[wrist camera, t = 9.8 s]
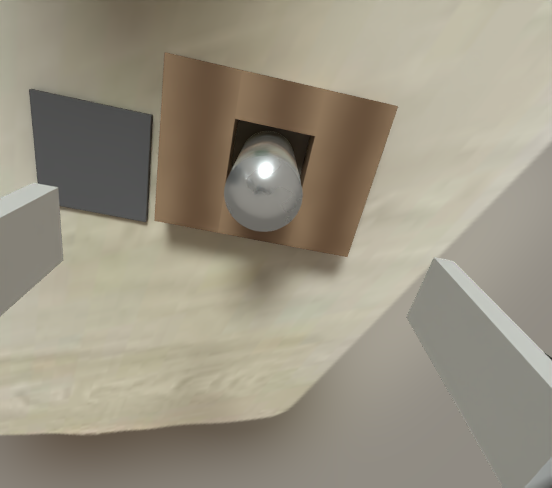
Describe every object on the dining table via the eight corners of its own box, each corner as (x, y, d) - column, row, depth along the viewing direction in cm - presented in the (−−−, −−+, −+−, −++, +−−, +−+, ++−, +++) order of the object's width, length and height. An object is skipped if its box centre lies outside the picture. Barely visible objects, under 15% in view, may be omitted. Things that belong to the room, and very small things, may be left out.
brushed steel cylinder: (237, 179, 29) (219, 224, 20) (245, 125, 27) (229, 148, 18) (288, 189, 29) (293, 237, 20) (299, 136, 28) (310, 164, 18)
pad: (42, 200, 30) (39, 202, 29) (32, 89, 26) (29, 89, 26) (147, 220, 31) (145, 221, 30) (152, 115, 27) (150, 115, 26)
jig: (165, 207, 30) (154, 220, 27) (176, 55, 25) (164, 52, 22) (341, 241, 31) (347, 257, 29) (385, 103, 26) (398, 106, 24)
